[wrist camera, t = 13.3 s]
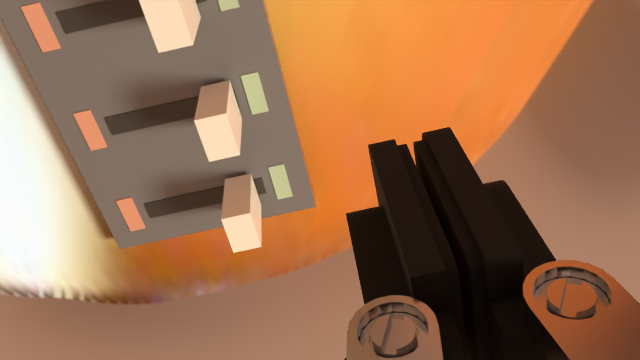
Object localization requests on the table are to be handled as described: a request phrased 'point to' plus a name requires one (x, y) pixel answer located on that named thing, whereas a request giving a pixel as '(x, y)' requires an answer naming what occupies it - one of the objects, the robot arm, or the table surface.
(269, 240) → the table surface
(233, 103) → the block
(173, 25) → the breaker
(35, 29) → the breaker panel
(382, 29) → the table surface
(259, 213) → the block
